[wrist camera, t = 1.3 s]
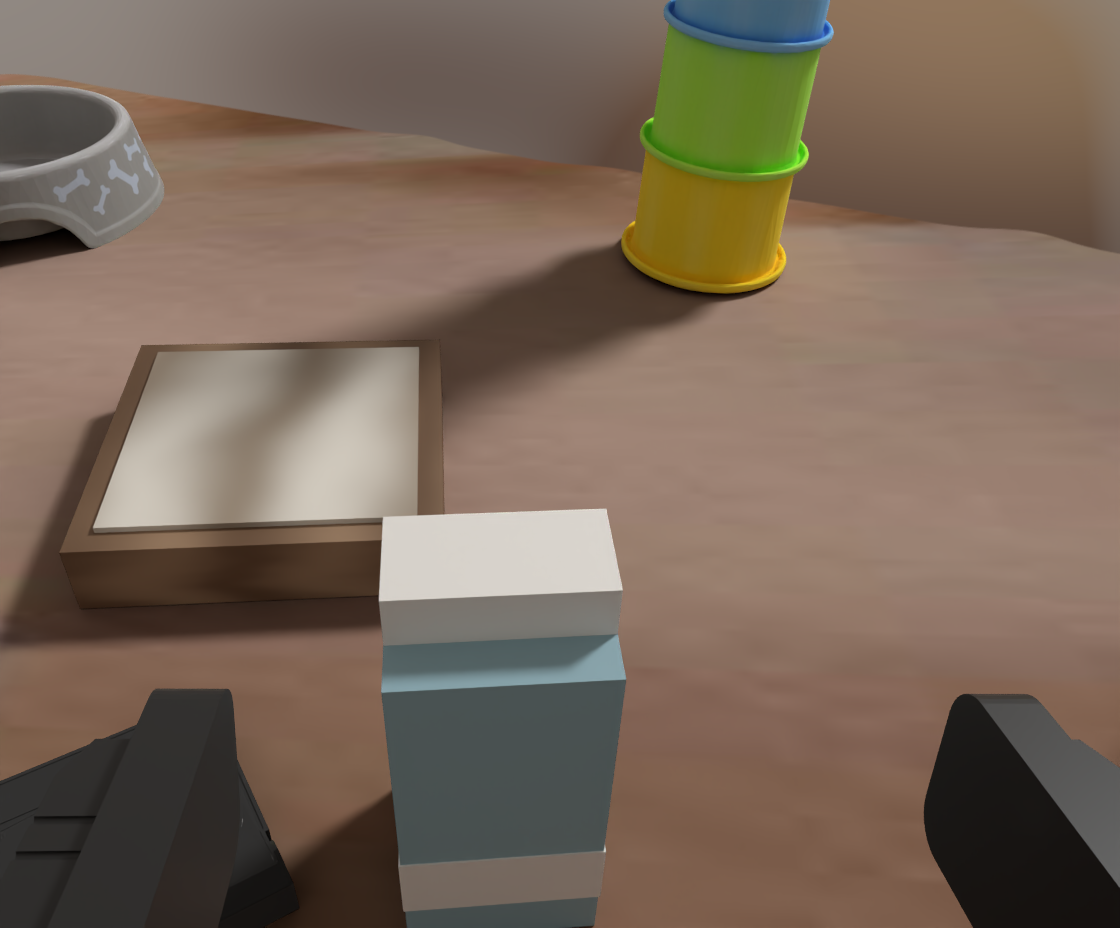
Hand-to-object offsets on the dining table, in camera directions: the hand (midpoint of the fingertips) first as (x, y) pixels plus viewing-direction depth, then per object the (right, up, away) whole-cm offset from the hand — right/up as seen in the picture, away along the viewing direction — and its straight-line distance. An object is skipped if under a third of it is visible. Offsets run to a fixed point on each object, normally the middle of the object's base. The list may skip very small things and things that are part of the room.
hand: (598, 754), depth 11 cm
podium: (-13, +2, +34) cm, 36 cm away
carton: (-2, -9, +21) cm, 23 cm away
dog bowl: (-36, +20, +55) cm, 68 cm away
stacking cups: (+8, +16, +53) cm, 56 cm away
